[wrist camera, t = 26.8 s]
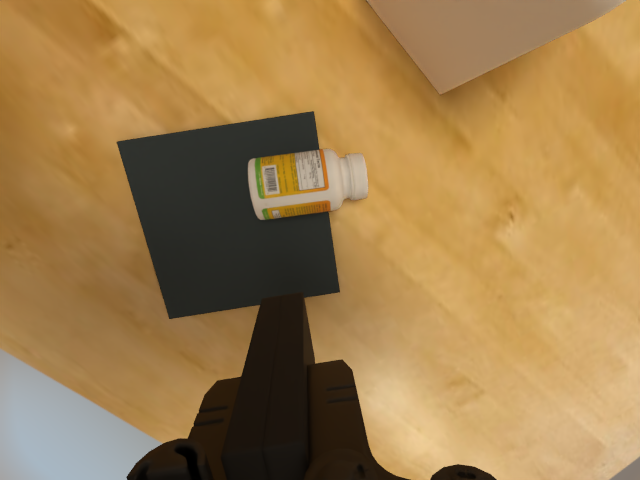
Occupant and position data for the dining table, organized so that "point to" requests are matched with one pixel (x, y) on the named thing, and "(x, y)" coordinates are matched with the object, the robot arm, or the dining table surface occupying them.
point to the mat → (225, 217)
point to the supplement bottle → (305, 182)
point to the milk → (479, 31)
